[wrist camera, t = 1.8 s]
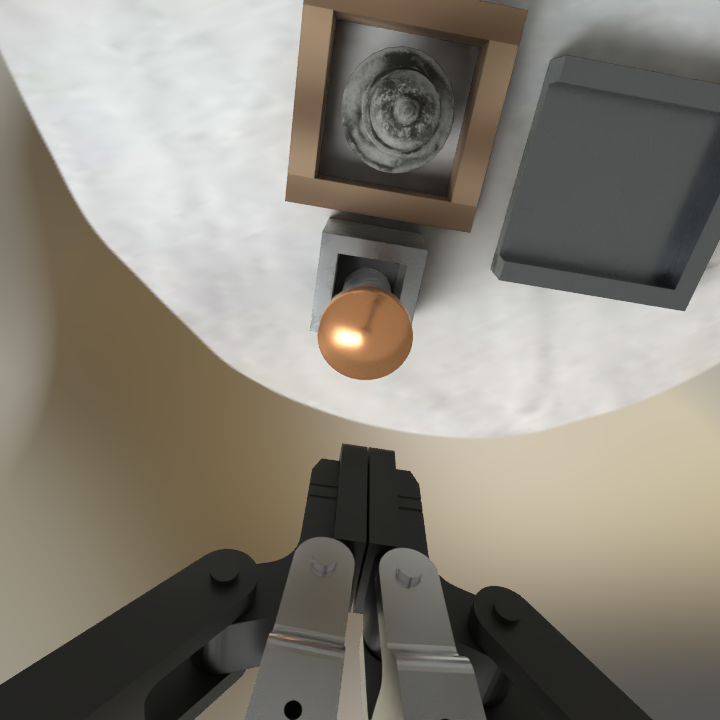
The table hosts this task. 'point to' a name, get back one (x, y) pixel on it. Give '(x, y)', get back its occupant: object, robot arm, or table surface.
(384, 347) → the copper mushroom knob
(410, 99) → the dark grey chess piece
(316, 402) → the table surface
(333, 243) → the housing
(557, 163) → the tray
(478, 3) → the socket collar
